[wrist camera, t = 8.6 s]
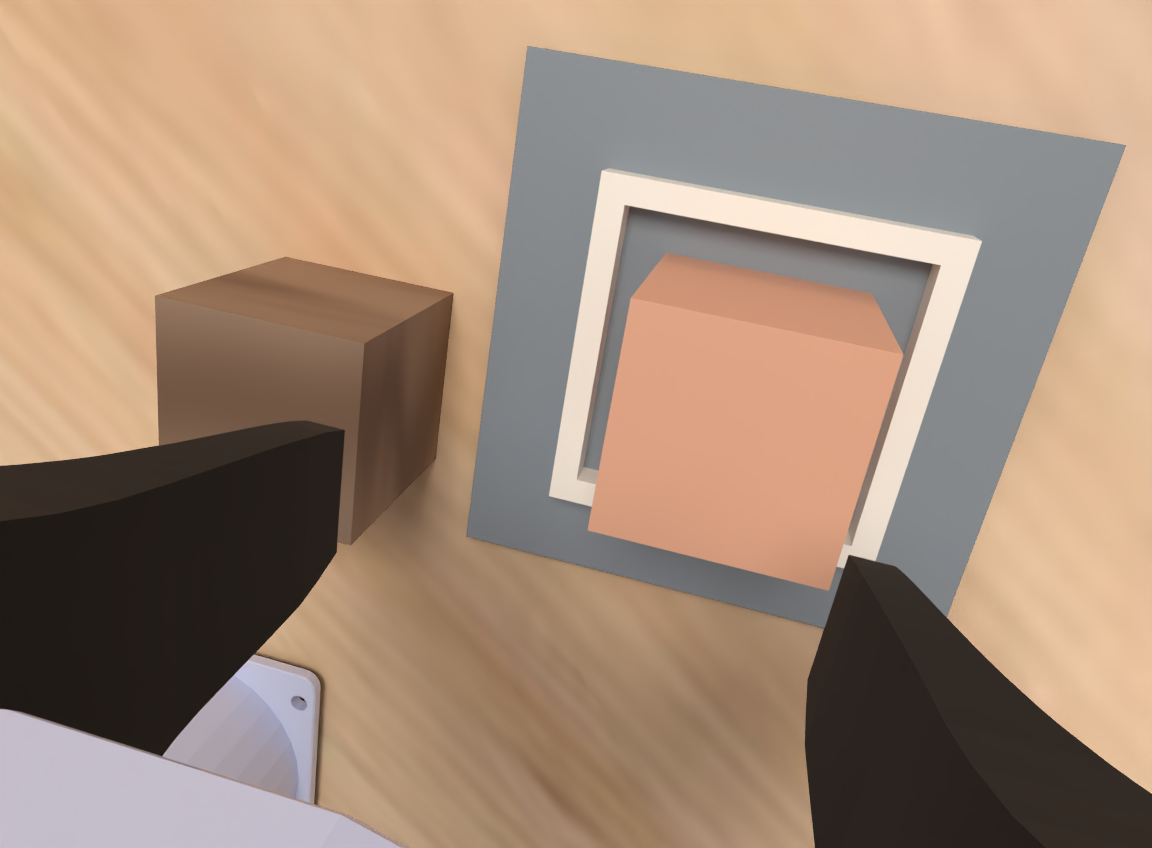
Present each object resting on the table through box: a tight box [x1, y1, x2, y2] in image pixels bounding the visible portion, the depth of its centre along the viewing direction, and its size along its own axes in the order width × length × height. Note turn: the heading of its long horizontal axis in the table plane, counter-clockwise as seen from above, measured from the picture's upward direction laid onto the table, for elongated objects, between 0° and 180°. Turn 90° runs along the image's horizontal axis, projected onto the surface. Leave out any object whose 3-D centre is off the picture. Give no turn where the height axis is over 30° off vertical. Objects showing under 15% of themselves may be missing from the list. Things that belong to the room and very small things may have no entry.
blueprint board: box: [467, 46, 1126, 628], centre depth 19 cm, size 12×12×1 cm
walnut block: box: [155, 257, 453, 545], centre depth 20 cm, size 4×4×5 cm
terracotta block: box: [588, 253, 904, 591], centre depth 17 cm, size 4×4×5 cm
